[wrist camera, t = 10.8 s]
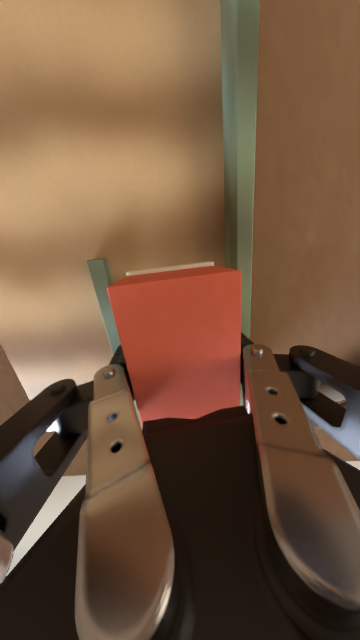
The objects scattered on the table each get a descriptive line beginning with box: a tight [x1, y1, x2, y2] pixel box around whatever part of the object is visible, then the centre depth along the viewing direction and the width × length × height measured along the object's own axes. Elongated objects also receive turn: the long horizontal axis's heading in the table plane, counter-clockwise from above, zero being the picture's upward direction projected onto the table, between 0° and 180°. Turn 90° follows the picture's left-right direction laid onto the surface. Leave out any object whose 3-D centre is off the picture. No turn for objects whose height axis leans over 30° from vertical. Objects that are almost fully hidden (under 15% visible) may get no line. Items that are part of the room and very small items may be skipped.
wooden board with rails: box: [0, 0, 260, 432], centre depth 12 cm, size 30×18×5 cm, turn 6°
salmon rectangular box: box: [107, 261, 242, 428], centre depth 11 cm, size 12×5×5 cm, turn 6°
